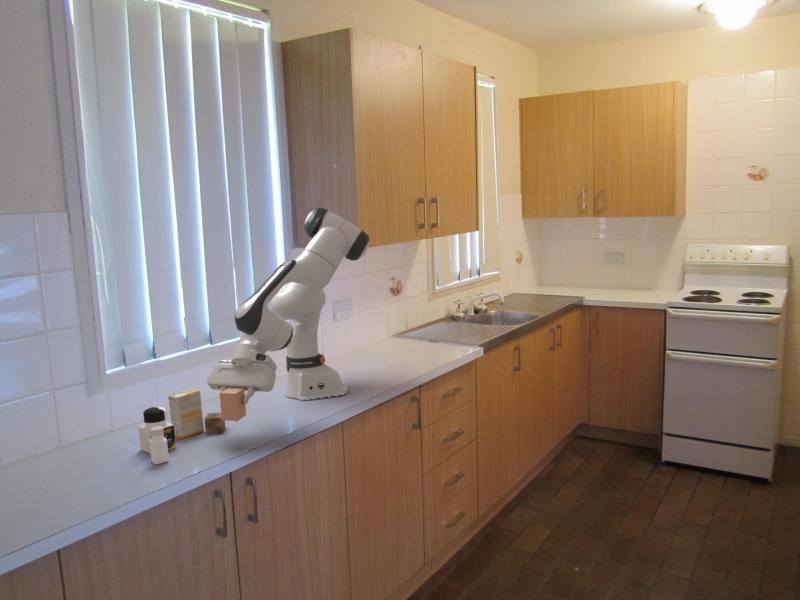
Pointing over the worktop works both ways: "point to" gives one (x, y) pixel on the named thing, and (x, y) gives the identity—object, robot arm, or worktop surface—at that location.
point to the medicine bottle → (153, 419)
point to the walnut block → (214, 423)
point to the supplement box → (186, 413)
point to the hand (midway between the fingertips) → (233, 402)
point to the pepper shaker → (158, 446)
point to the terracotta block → (232, 404)
